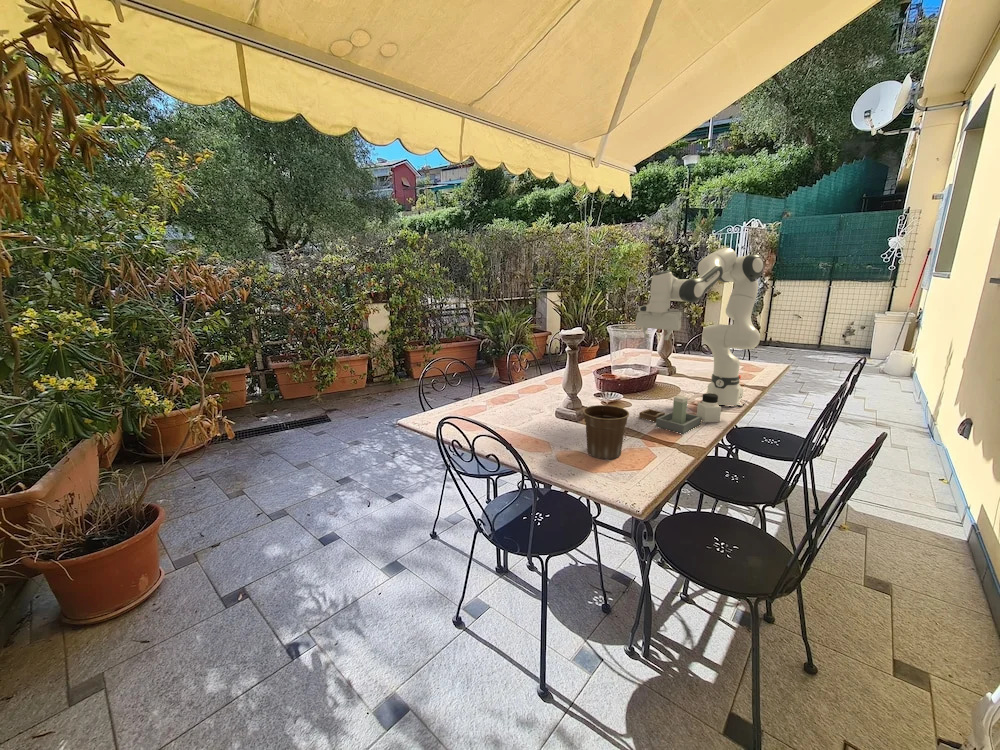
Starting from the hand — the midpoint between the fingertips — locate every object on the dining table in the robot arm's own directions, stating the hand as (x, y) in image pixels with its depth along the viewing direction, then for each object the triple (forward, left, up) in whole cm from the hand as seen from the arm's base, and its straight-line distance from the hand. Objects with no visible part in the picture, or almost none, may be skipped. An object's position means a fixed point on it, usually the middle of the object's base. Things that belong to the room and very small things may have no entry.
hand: (656, 338), depth 188 cm
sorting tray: (+8, +18, -35) cm, 40 cm away
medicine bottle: (-9, +23, -35) cm, 43 cm away
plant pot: (+54, +13, -35) cm, 66 cm away
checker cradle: (+7, +5, -35) cm, 36 cm away
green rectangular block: (+8, +18, -34) cm, 39 cm away
